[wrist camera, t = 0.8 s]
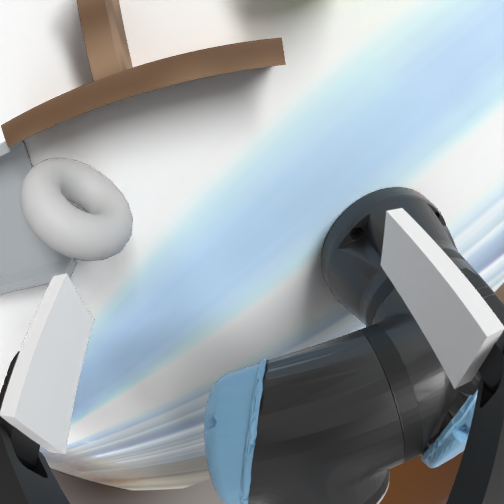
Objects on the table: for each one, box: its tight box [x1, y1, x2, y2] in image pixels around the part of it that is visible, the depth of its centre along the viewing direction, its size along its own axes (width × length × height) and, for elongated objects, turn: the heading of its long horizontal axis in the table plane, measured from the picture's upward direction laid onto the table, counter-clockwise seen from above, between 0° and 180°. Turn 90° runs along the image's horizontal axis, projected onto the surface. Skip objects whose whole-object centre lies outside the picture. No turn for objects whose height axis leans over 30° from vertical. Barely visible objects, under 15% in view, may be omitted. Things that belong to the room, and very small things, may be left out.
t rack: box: [1, 0, 286, 147], centre depth 16 cm, size 12×22×5 cm, turn 99°
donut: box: [20, 158, 133, 261], centre depth 22 cm, size 10×4×10 cm, turn 47°
